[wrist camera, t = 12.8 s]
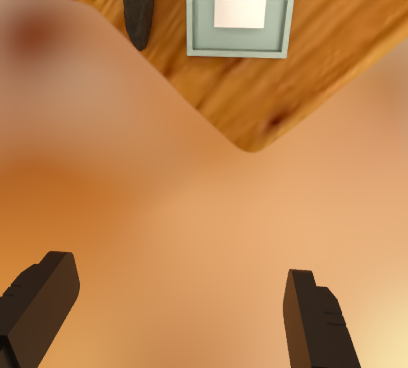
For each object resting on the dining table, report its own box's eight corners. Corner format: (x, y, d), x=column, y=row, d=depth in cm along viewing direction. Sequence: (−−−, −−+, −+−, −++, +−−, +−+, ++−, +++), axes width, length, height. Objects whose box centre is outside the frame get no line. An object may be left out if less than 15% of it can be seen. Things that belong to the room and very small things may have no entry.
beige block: (216, 25, 37) (214, 27, 33) (218, -26, 35) (215, -32, 30) (260, 26, 37) (263, 28, 32) (264, -26, 35) (269, -31, 30)
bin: (190, 52, 39) (187, 55, 37) (190, -61, 34) (186, -67, 31) (282, 55, 39) (286, 58, 36) (297, -61, 33) (302, -67, 31)
